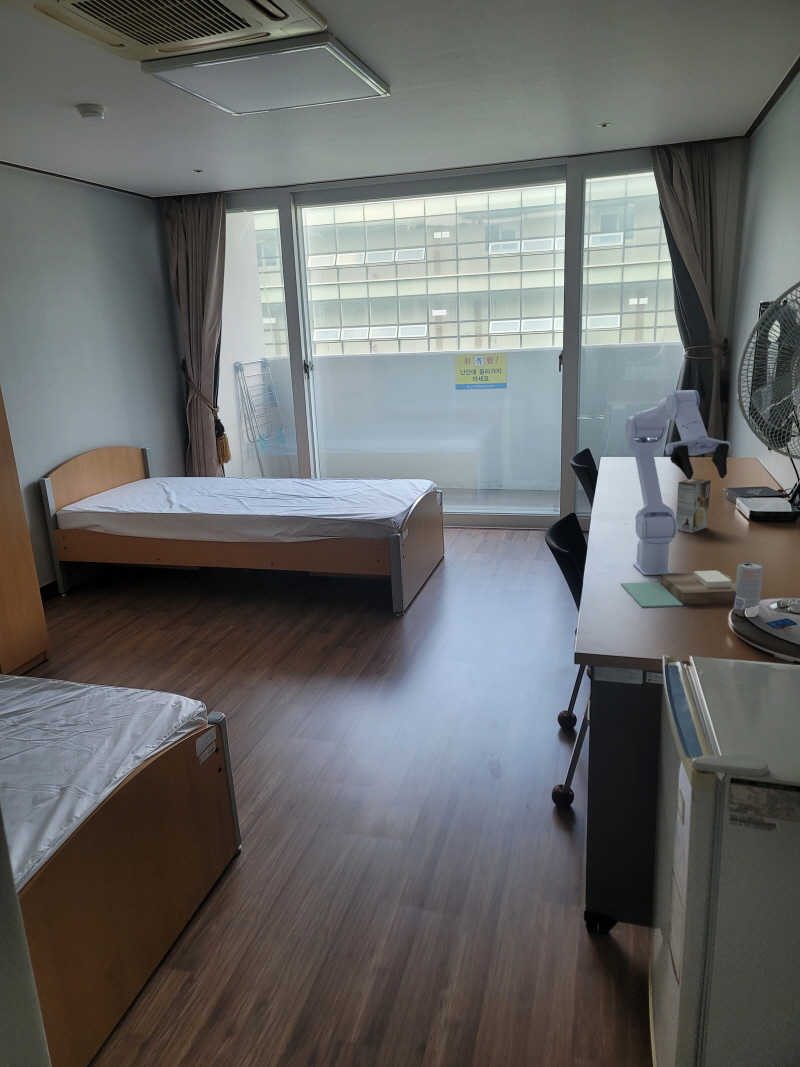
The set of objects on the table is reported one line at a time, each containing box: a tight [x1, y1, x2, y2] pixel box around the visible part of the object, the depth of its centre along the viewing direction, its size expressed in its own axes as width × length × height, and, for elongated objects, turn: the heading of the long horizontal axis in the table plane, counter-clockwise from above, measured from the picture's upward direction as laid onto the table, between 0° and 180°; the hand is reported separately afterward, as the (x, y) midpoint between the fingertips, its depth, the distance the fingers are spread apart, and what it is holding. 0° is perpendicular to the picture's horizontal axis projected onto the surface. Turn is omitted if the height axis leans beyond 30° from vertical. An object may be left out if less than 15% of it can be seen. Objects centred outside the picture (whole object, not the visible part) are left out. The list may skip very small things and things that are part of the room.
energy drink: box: [732, 561, 764, 610], centre depth 168 cm, size 5×5×12 cm
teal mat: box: [620, 581, 684, 608], centre depth 182 cm, size 16×10×1 cm, turn 1°
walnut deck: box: [660, 571, 736, 605], centre depth 182 cm, size 14×16×3 cm
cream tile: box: [693, 570, 731, 588], centre depth 182 cm, size 8×6×2 cm
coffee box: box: [675, 477, 712, 534], centre depth 237 cm, size 9×6×16 cm
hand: (707, 476), depth 164 cm, fingers open, 7 cm apart
